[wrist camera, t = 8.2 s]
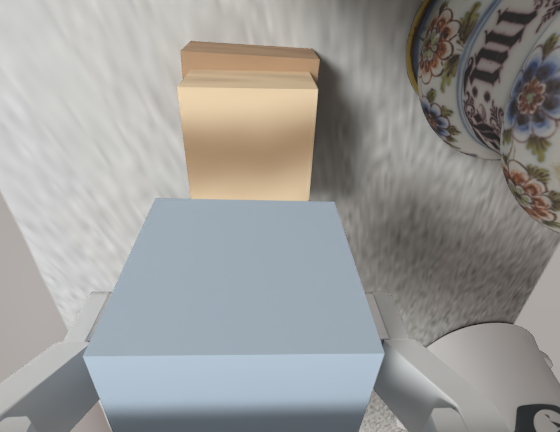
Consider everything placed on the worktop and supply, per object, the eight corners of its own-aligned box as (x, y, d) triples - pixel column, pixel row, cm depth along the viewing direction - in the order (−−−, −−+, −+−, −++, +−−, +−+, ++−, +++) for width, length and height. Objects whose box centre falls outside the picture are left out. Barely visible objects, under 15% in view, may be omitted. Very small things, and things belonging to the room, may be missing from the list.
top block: (302, 177, 25) (308, 207, 22) (201, 176, 25) (192, 207, 22) (309, 71, 22) (318, 89, 18) (190, 69, 21) (177, 87, 18)
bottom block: (300, 157, 29) (305, 180, 26) (198, 153, 28) (190, 176, 25) (311, 48, 25) (319, 59, 21) (191, 40, 24) (180, 50, 21)
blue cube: (315, 319, 13) (342, 479, 9) (175, 320, 13) (134, 486, 9) (334, 201, 10) (384, 353, 6) (155, 198, 10) (82, 356, 6)
